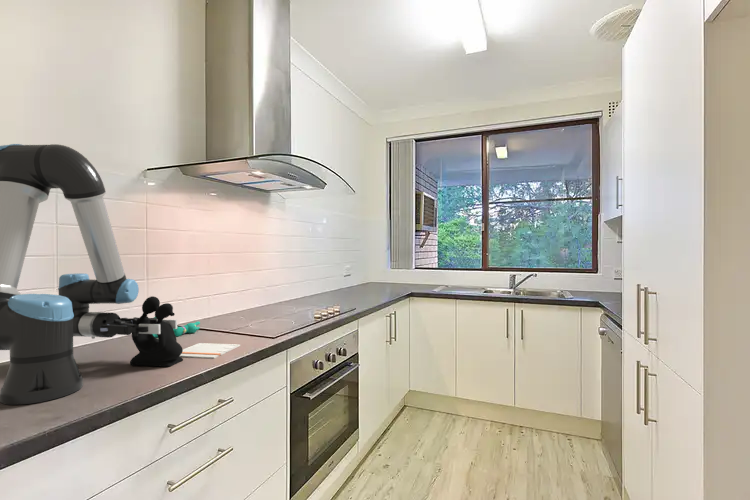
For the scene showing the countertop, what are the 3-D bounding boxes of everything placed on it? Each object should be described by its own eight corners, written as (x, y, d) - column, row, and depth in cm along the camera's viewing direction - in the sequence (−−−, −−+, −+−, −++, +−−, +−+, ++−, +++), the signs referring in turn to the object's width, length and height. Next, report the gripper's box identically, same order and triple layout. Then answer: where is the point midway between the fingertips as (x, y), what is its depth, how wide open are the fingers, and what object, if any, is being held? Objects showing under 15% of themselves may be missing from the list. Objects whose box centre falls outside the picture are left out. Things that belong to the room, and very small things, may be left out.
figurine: (125, 366, 115) (124, 298, 115) (146, 358, 124) (145, 294, 124) (170, 368, 114) (169, 298, 113) (188, 359, 122) (187, 294, 122)
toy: (173, 329, 147) (207, 318, 166) (123, 321, 151) (162, 312, 171) (172, 347, 147) (206, 334, 167) (123, 339, 152) (162, 327, 171)
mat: (214, 358, 123) (214, 356, 123) (168, 356, 126) (168, 354, 126) (240, 345, 139) (240, 344, 139) (198, 344, 142) (198, 342, 142)
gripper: (126, 330, 132) (189, 332, 128) (72, 344, 113) (143, 347, 109) (126, 307, 132) (188, 308, 128) (71, 318, 112) (143, 320, 108)
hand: (168, 326), depth 118 cm, fingers closed on figurine, 7 cm apart
